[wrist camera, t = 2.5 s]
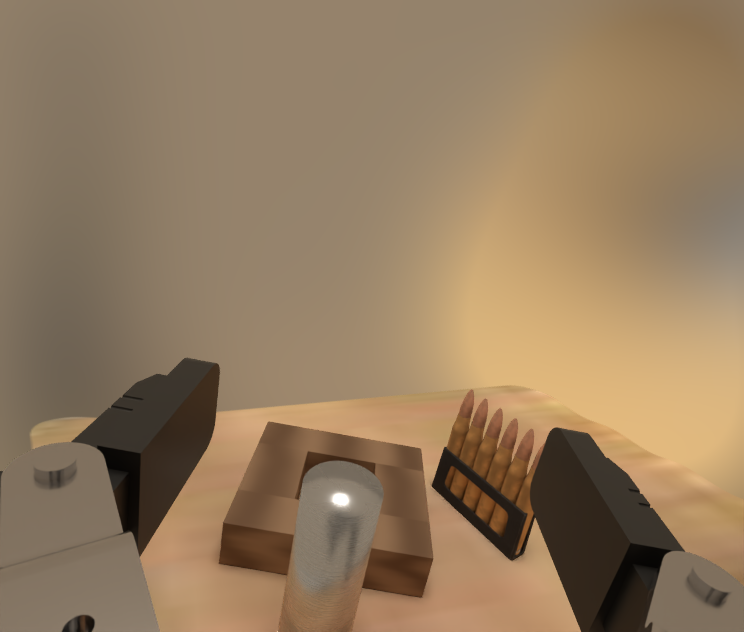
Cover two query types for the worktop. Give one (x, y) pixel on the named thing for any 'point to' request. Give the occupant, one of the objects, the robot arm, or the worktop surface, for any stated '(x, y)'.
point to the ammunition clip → (489, 477)
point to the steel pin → (330, 547)
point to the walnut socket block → (280, 500)
